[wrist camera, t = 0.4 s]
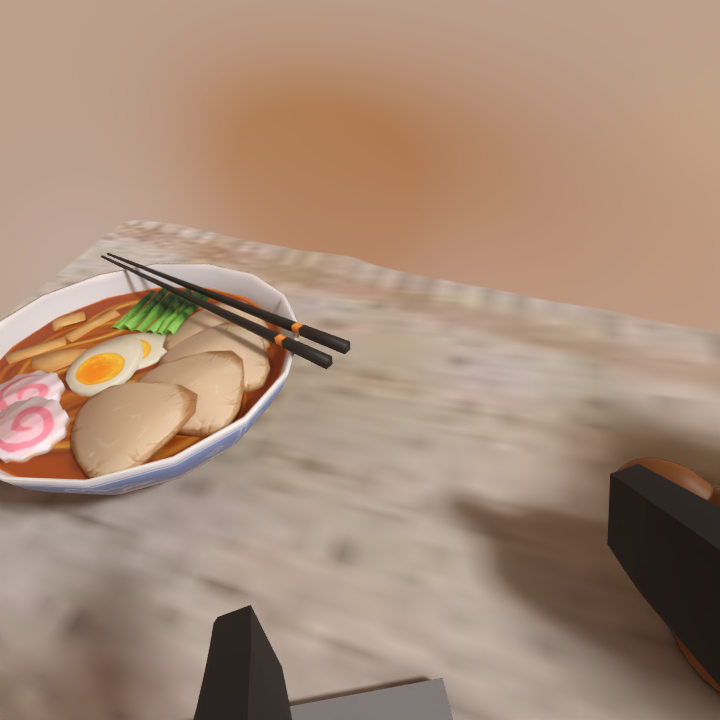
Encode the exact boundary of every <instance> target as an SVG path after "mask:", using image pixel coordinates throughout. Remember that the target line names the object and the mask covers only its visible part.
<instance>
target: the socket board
mask: <svg viewBox="0 0 720 720" xmlns="http://www.w3.org/2000/svg"><path fill="white" fill-rule="evenodd" d="M290 710H291V715H292V720H453V718H452V714H451V710H450V706H449V702H448V698H447V694H446V690H445V686H444V682H443V678H440V679H434V680H429V681H423V682H418V683H413V684H407V685H402V686H397V687H391V688H386V689H380V690H375V691H370V692H364V693H359V694H353V695H348V696H343V697H337V698H332V699H327V700H321V701H316V702H310V703H305V704H300V705H294V706H290Z"/></svg>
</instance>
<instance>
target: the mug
mask: <svg viewBox="0 0 720 720" xmlns="http://www.w3.org/2000/svg"><path fill="white" fill-rule="evenodd" d="M636 464H640V465H642V466H644V467H646V468H648V469H650V470H651V471H653V472H655V473H657V474H659V475H661V476H663V477H665V478H666V479H668V480H670V481H672V482H674V483H676V484H678V485H679V486H681V487H683V488H685V489H687V490H689V491H691V492H693V493H694V494H696V495H698V496H700V497H702V498H704V499H706V500H708V501H709V502H711V503H713V504H715V505H717V506H719V507H720V491H718V490H717V489H716V488H714V487H713V486H712V485H710V484H709V483H708V482H706V481H705V480H704V479H702V478H701V477H700V476H698V475H697V474H695V473H694V472H693V471H692V470H690V469H688V468H686V467H684V466H682V465H680V464H677V463H674V462H670V461H667V460H663V459H656V458H650V457H647V458H642V459H636V460H632V461H630V462H628V463H627V464H625V465H623V466H622V467H620V469H619V470H618V471H620V470H623V469H625V468H628V467H631V466H633V465H636ZM673 634H674V632H673ZM674 637H675V639H676V641H677V643H678V645H679V647H680V649H681V651H682V652H683V654H684V655H685V657H686V659H687V660H688V661H689V663H690V664H691V665H692V667H693V668H694V669H695V670H696V671H697V672H698V673H699V675H700V676H701V677H702V678H703V679H704V680H705V681H707V682H708V683H709V684H710V685H711V686H712V687H713V688H715V689H716V690H717V691H718V692H720V686H719V685H718V684H717V683H716V682H715V680H714V679H713V678H712V677H711V676H710V675H709V673H708V672H707V671H706V670H705V669H704V668H703V666H702V665H701V664H700V663H699V662H698V661H697V659H696V658H695V657H694V656H693V655H692V653H691V652H690V651H689V650H688V649H687V648H686V646H685V645H684V644H683V643H682V642H681V641H680V639H679V638H678V637H677V636H676V635H675V634H674Z"/></svg>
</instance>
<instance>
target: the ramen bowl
mask: <svg viewBox="0 0 720 720" xmlns="http://www.w3.org/2000/svg"><path fill="white" fill-rule="evenodd" d="M107 255H109V256H112V257H114V258H116V259H119V260H121V261H123V262H126V263H128V264H131V265H133V266H135V267H136V268H130V267H128V266H125V265H123V264H121V263H118V262H116V261H114V260H112V259H109V258H107V257H105V256H103V255H102V256H101V257H102V258H104V259H106V260H108V261H110V262H112V263H114V264H116V265H118V266H120V267H122V268H124V269H125V270H120V271H115V272H110V273H104V274H99V275H96V276H94V277H91V278H88V279H86V280H83V281H80V282H77V283H75V284H72V285H69V286H66V287H64V288H61V289H58V290H55V291H53V292H50V293H47V294H45V295H42V296H40V297H39V298H37V299H35V300H34V301H32V302H30V303H29V304H27V305H25V306H24V307H22V308H20V309H19V310H17V311H15V312H14V313H12V314H10V315H9V316H7V317H6V318H4V319H2V320H1V321H0V480H2V481H4V482H7V483H10V484H13V485H15V486H18V487H21V488H24V489H29V490H36V491H43V492H53V493H78V494H102V495H116V494H124V493H127V492H131V491H134V490H138V489H142V488H145V487H149V486H152V485H156V484H160V483H163V482H167V481H170V480H174V479H178V478H181V477H182V476H184V475H186V474H188V473H189V472H191V471H193V470H194V469H196V468H198V467H200V466H201V465H203V464H205V463H206V462H208V461H210V460H212V459H213V458H215V457H217V456H218V455H220V454H222V453H224V452H225V451H227V450H229V449H230V448H231V447H232V446H234V445H235V444H236V443H237V442H238V441H239V440H240V438H241V437H242V436H243V435H244V434H245V433H246V432H247V430H248V429H249V428H250V427H251V426H252V425H253V424H254V422H255V421H256V420H257V419H258V418H259V417H260V415H261V414H262V413H263V412H264V411H265V410H266V409H267V407H268V406H269V405H270V404H271V403H272V401H273V400H274V398H275V397H276V396H277V394H278V393H279V391H280V390H281V388H282V386H283V384H284V382H285V379H286V377H287V375H288V372H289V369H290V366H291V362H292V358H293V355H294V353H295V354H297V355H299V356H301V357H303V358H305V359H307V360H309V361H311V362H313V363H315V364H317V365H319V366H321V367H323V368H325V369H327V368H328V367H330V366H331V365H332V364H333V362H332V356H330V355H328V354H326V353H323V352H321V351H319V350H317V349H314V348H312V347H310V346H307V345H305V344H303V343H301V342H298V341H297V340H298V337H299V335H300V336H302V337H305V338H307V339H309V340H312V341H314V342H317V343H319V344H321V345H324V346H326V347H329V348H331V349H333V350H336V351H338V352H340V353H343V354H346V353H347V352H348V351H349V350H350V341H347V340H344V339H342V338H339V337H336V336H333V335H331V334H328V333H325V332H323V331H320V330H317V329H314V328H312V327H309V326H306V325H303V324H299V323H298V322H297V320H296V318H295V316H294V313H293V311H292V309H291V306H290V304H289V302H288V300H287V297H286V296H285V295H283V294H282V293H280V292H279V291H278V290H276V289H275V288H273V287H272V286H270V285H269V284H267V283H266V282H264V281H263V280H262V279H260V278H259V277H257V276H256V275H254V274H251V273H247V272H242V271H238V270H234V269H229V268H225V267H221V266H216V265H212V264H151V265H146V266H143V265H140V264H137V263H135V262H132V261H129V260H126V259H124V258H121V257H118V256H115V255H113V254H110V253H107Z"/></svg>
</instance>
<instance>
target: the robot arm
mask: <svg viewBox="0 0 720 720" xmlns="http://www.w3.org/2000/svg"><path fill="white" fill-rule="evenodd" d="M608 546H609V547H610V549H611V550H612V552H613V553H614V555H615V556H616V558H617V559H618V561H619V562H620V564H621V565H622V567H623V569H624V570H625V571H626V573H627V574H628V576H629V577H630V579H631V580H632V582H633V583H634V585H635V586H636V587H637V589H638V590H639V592H640V593H641V594H642V595H643V597H644V598H645V599H646V600H647V601H648V603H649V604H650V605H651V606H652V607H653V609H654V610H655V611H656V612H657V613H658V615H659V616H660V617H661V618H662V619H663V621H664V622H665V623H666V624H667V625H668V626H669V628H670V629H671V630H672V631H673V632H674V634H675V635H676V636H677V637H678V638H679V639H680V641H681V642H682V643H683V644H684V645H685V646H686V648H687V649H688V650H689V651H690V652H691V653H692V655H693V656H694V657H695V658H696V659H697V661H698V662H699V663H700V664H701V665H702V666H703V668H704V669H705V670H706V671H707V672H708V673H709V675H710V676H711V677H712V678H713V679H714V680H715V682H716V683H717V684H718V685H719V686H720V507H719V506H717V505H715V504H713V503H711V502H709V501H708V500H706V499H704V498H702V497H700V496H698V495H696V494H694V493H693V492H691V491H689V490H687V489H685V488H683V487H681V486H679V485H678V484H676V483H674V482H672V481H670V480H668V479H666V478H665V477H663V476H661V475H659V474H657V473H655V472H653V471H651V470H650V469H648V468H646V467H644V466H642V465H640V464H636V465H633V466H631V467H628V468H625V469H623V470H620V471H617V472H614V473H612V474H610V495H609V520H608ZM194 720H292V715H291V710H290V705H289V700H288V695H287V690H286V685H285V680H284V675H283V670H282V667H281V665H280V663H279V661H278V659H277V657H276V655H275V653H274V651H273V649H272V647H271V645H270V643H269V641H268V639H267V637H266V635H265V633H264V631H263V629H262V627H261V625H260V623H259V621H258V619H257V617H256V615H255V613H254V611H253V609H252V607H251V605H249V606H247V607H244V608H241V609H238V610H236V611H233V612H230V613H227V614H225V615H222V616H219V617H217V619H216V620H215V622H214V624H213V630H212V636H211V642H210V648H209V653H208V658H207V663H206V668H205V673H204V677H203V682H202V686H201V691H200V695H199V699H198V704H197V708H196V712H195V716H194Z"/></svg>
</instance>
